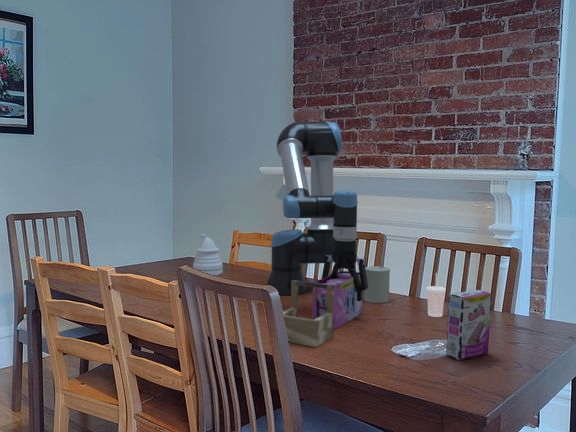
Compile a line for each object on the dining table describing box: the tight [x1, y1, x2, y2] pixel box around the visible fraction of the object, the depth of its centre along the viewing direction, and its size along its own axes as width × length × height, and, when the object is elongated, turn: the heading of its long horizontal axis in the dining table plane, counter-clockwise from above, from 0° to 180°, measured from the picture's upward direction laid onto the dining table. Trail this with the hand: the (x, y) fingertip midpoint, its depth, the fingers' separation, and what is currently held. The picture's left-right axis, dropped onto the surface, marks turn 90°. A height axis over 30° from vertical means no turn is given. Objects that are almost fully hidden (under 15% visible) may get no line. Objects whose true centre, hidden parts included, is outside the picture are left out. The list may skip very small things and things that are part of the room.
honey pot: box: [192, 233, 224, 275], centre depth 255 cm, size 13×13×18 cm
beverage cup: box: [426, 272, 447, 318], centre depth 192 cm, size 6×6×14 cm
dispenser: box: [282, 280, 334, 348], centre depth 166 cm, size 11×13×15 cm
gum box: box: [311, 270, 363, 330], centre depth 186 cm, size 24×8×14 cm, turn 151°
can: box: [363, 265, 391, 304], centre depth 212 cm, size 9×9×12 cm
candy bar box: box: [445, 289, 492, 361], centre depth 153 cm, size 11×5×16 cm, turn 123°
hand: (343, 308), depth 191 cm, fingers open, 8 cm apart
